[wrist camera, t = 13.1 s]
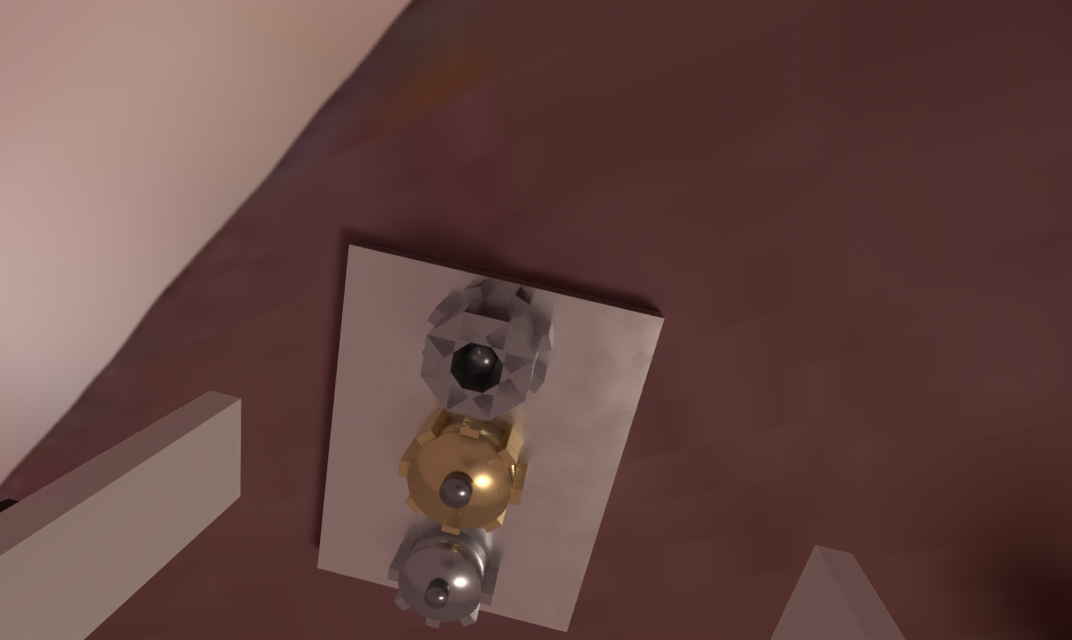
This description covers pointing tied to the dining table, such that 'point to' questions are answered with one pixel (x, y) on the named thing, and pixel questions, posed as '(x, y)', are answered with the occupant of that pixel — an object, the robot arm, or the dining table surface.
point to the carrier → (474, 447)
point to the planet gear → (493, 326)
